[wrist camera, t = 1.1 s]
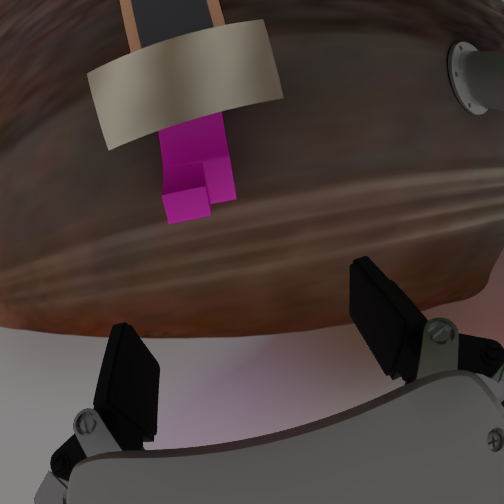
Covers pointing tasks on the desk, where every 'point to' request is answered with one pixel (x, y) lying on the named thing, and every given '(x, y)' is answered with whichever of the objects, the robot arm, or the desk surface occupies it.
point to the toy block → (195, 168)
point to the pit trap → (167, 19)
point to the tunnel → (184, 80)
